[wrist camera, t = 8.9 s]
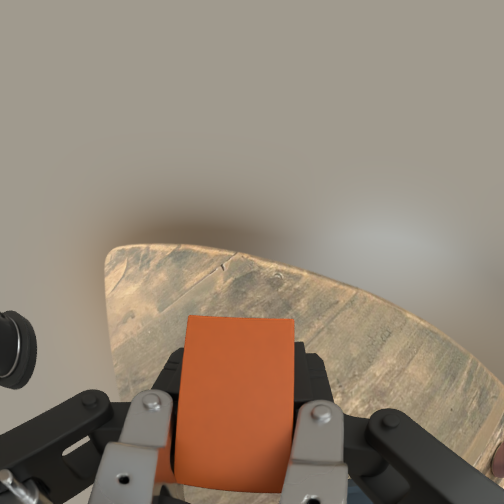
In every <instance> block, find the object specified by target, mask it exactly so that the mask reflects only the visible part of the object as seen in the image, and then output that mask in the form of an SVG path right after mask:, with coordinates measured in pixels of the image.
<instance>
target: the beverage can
mask: <svg viewBox="0 0 504 504" xmlns="http://www.w3.org/2000/svg"><path fill="white" fill-rule="evenodd" d="M491 469H492V472H493V474H494V476H495V477H501V478H504V441H503V442H502V443H501V444H500V446H499V447H498V448H497V450H496V452H495V454H494V457H493V460H492V465H491Z"/></svg>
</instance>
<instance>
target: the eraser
mask: <svg viewBox="0 0 504 504" xmlns="http://www.w3.org/2000/svg"><path fill="white" fill-rule="evenodd" d="M294 342H299V341H294V319H265V318H233V317H212V316H196V315H189V316H188V322H187V329H186V337H185V345H184V353H183V362H182V371H181V380H180V390H179V401H178V412H177V425H176V439H175V456H174V477H175V479H176V481H177V483H179V484H184V485H189V486H195V487H201V488H208V489H216V490H225V491H235V492H250V493H282V489H283V485H284V480H285V476H286V471H287V467H288V462H289V459H290V454H291V449H292V436H293V408H294Z"/></svg>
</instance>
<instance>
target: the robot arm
mask: <svg viewBox="0 0 504 504" xmlns="http://www.w3.org/2000/svg"><path fill="white" fill-rule="evenodd" d="M21 353H22V336H21V331H20V328H19V326H18V324H17V323H16V321H15V320H13V319H12V318H10V317H7V316H6V315H4V313H3V314H2V313H1V312H0V379H1V378H8V377H10V376H11V375H12V374H13V373H14V372H15V371H16V369H17V367H18V364H19V362H20V358H21ZM183 353H184V348H179V349H178V350H176V351H175V352H173V353H172V354H171V356H170V357H169V359H168V361H167V363H166V364H165V366H164V369H162V371H161V373H160V375H159V376H158V378H157V380H156V381H155V383H154V385H153V387H152V388H151V390H145V391H142V392H140V393H138V394H137V395H136V396H135V397H134V398H133V400H132V402H110V400H109V397H108V396H107V394H106V393H104V392H102V391H100V390H86V391H83V392H81V393H79V394H77V395H75V396H74V397H72V398H70V399H68V400H66V401H65V402H63V403H61V404H59V405H57V406H55V407H54V408H52V409H50V410H48V411H46V412H44V413H42V414H40V415H39V416H37V417H35V418H33V419H31V420H29V421H27V422H25V423H23V424H21V425H20V426H17V427H16V428H13V429H12V430H10V431H8V432H6V433H4V434H2V435H0V504H63V503H64V502H66V501H68V500H69V499H71V498H73V497H74V496H76V495H77V494H79V493H80V492H82V491H83V490H85V489H86V488H88V487H89V486H90V485H92V484H93V483H94V485H93V488H92V492H91V495H90V498H89V502H88V504H190V503H188V502H185V498H184V493H183V484H179V483H177V481H176V479H175V477H174V456H175V439H176V425H177V412H178V401H179V390H180V380H181V371H182V362H183ZM87 435H88V436H89V438H90V440H89V441H88V442H87V443H85V444H83V445H82V446H80V447H78V448H77V449H75V450H74V451H72V452H71V453H69V454H67V455H65V456H62V453H63V451H64V450H65V449H66V448H68V447H70V446H71V445H73V444H75V443H76V442H78V441H79V440H81V439H83V438H84V437H86V436H87ZM348 474H349V476H350V477H351V479H352V480H353V481H354V482H355V483H356V484H357V486H358V487H359V488H360V489H361V490H362V491H363V492H364V493H365V495H366V496H367V497H368V498H369V499H370V500H371V501H372V502H373V503H374V504H504V489H503V488H501V487H500V486H499V485H497V484H496V483H494V482H493V481H492V480H490V479H489V478H488V477H486V476H485V475H483V474H482V473H481V472H479V471H478V470H477V469H475V468H474V467H473V466H471V465H470V464H469V463H467V462H466V461H465V460H463V459H462V458H461V457H459V456H458V455H457V454H456V453H454V452H453V451H452V450H450V449H449V448H448V447H446V446H445V445H444V444H443V443H441V442H440V441H439V440H437V439H436V438H435V437H434V436H432V435H431V434H430V433H429V432H427V431H426V430H425V429H423V428H422V427H421V426H420V425H418V424H417V423H416V422H415V421H413V420H412V419H411V418H410V417H408V416H407V415H406V414H405V413H403V412H401V411H399V410H396V409H390V408H387V409H381V410H378V411H376V412H375V413H373V414H372V415H371V417H370V419H367V418H359V417H353V416H349V415H346V414H344V413H343V411H342V409H341V408H340V407H339V406H338V405H337V404H335V403H334V400H333V396H332V392H331V388H330V385H329V381H328V377H327V373H326V370H325V366H324V362H323V360H322V359H321V358H320V357H319V356H318V355H317V354H316V353H305V348H304V342H294V408H293V436H292V449H291V454H290V459H289V462H288V467H287V471H286V476H285V480H284V485H283V489H282V493H281V497H280V501H279V504H347V487H348Z"/></svg>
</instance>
